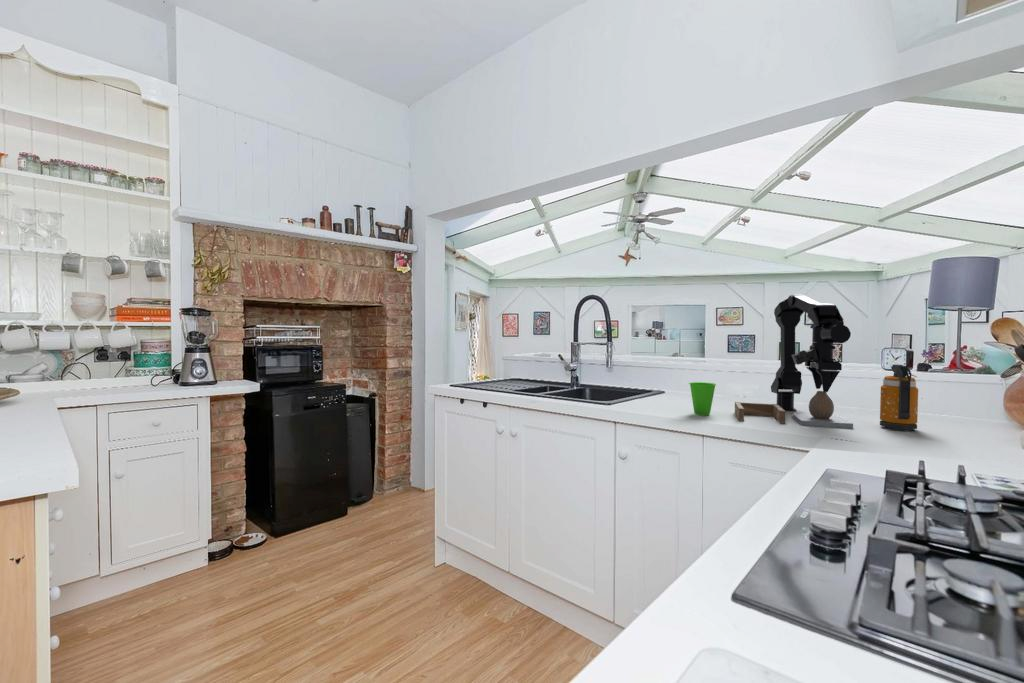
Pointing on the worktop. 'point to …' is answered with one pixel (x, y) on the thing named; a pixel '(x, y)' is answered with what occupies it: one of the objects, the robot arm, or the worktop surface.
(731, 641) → the worktop surface
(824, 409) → the vase
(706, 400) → the cup
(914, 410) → the canister
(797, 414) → the board
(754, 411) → the holder
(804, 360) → the robot arm
